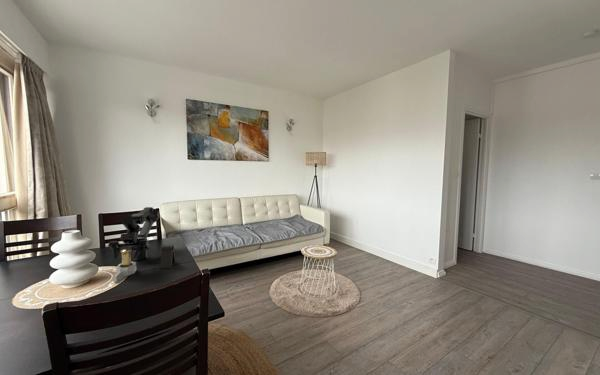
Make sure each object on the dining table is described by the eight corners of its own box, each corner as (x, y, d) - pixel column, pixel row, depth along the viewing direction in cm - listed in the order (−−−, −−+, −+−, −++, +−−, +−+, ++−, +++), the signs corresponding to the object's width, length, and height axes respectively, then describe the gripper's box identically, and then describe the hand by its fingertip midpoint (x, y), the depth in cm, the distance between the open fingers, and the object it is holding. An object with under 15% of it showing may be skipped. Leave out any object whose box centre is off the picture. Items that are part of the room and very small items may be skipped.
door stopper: (170, 268, 144) (170, 248, 143) (159, 268, 144) (158, 248, 142) (176, 261, 153) (175, 243, 152) (165, 262, 152) (165, 243, 151)
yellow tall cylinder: (124, 270, 140) (123, 248, 138) (133, 270, 140) (132, 248, 139) (119, 274, 135) (118, 251, 133) (129, 274, 135) (127, 251, 134)
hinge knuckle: (123, 266, 145) (122, 258, 145) (139, 264, 148) (139, 257, 148) (111, 282, 127) (111, 273, 126) (130, 279, 130) (130, 271, 129)
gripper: (108, 227, 136) (98, 254, 127) (146, 226, 141) (139, 252, 131) (116, 236, 145) (107, 262, 135) (151, 235, 149) (145, 260, 140)
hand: (125, 259), depth 135 cm, fingers open, 9 cm apart
